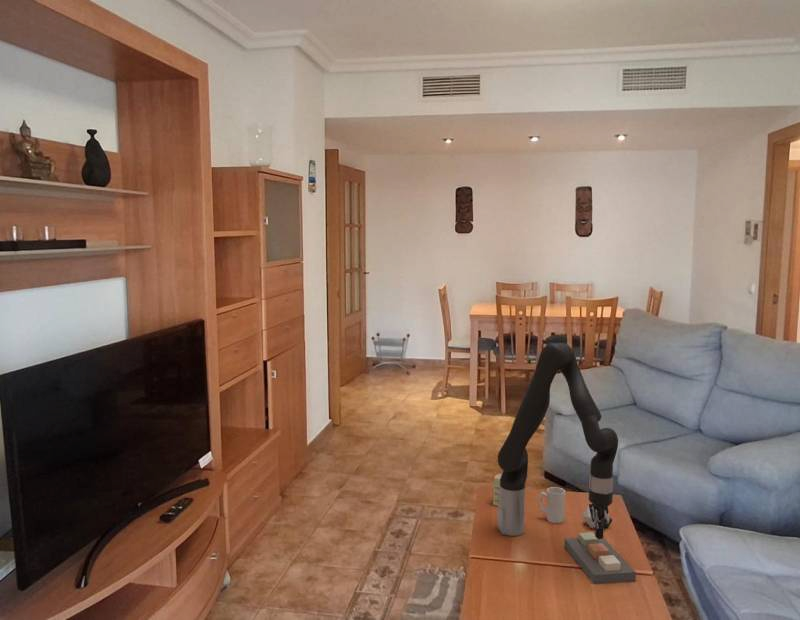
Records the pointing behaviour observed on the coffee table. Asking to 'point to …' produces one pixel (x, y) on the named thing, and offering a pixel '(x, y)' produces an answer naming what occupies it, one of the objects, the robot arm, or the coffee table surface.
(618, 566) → the key ivory
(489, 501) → the coffee table surface
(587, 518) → the die
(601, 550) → the key terracotta
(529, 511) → the coffee table surface
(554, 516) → the mug
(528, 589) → the coffee table surface
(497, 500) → the box
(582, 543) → the key sage
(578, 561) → the key panel
